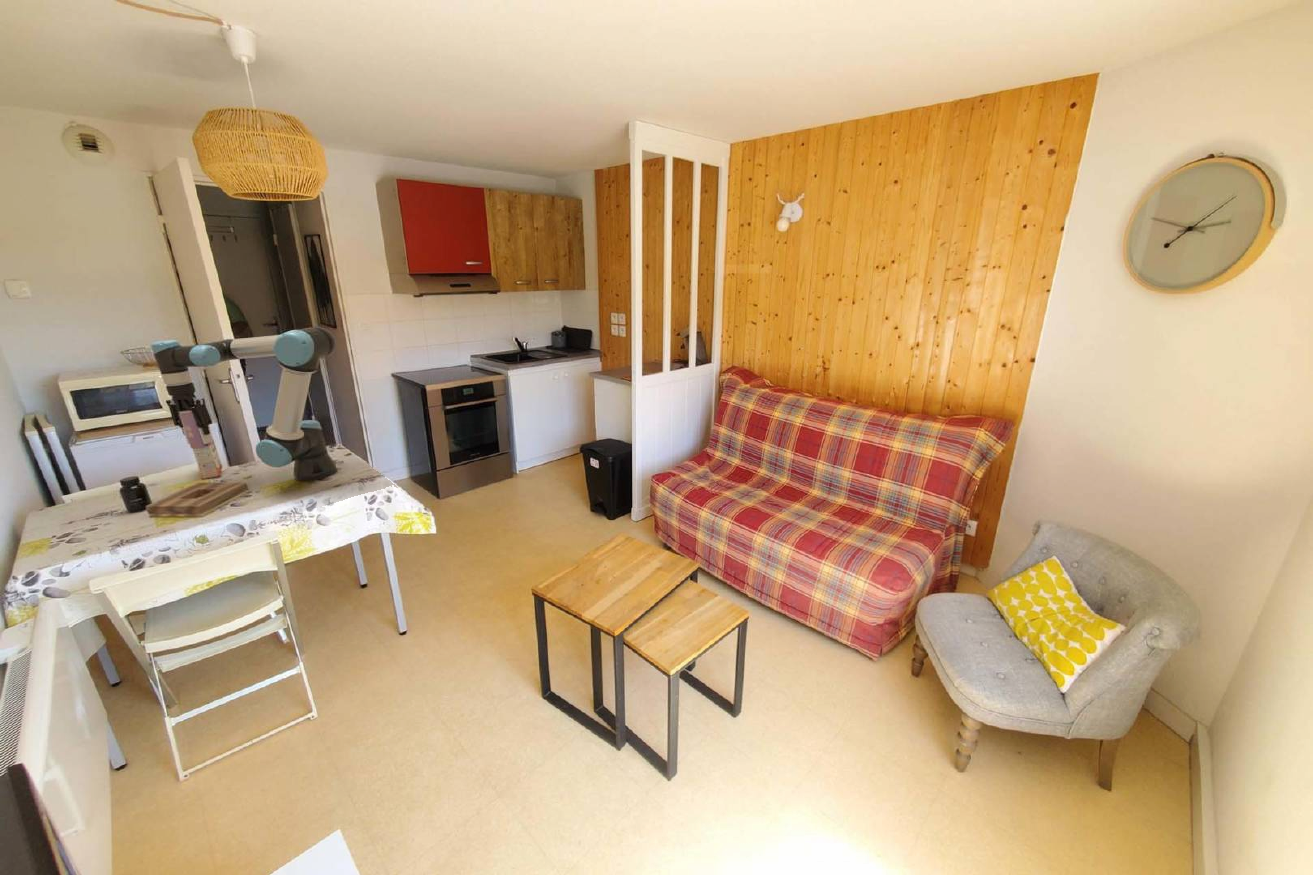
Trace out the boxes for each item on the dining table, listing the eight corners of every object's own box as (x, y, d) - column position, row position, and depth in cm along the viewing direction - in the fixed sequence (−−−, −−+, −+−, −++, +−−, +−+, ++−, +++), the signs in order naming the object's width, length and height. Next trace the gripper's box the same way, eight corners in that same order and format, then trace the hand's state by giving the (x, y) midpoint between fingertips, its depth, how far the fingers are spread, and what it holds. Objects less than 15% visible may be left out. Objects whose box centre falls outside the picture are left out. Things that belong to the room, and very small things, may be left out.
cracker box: (221, 476, 212) (204, 429, 205) (202, 479, 208) (185, 432, 201) (223, 466, 222) (208, 421, 215) (206, 469, 219) (189, 424, 212)
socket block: (249, 491, 195) (246, 482, 194) (202, 516, 176) (198, 506, 175) (201, 491, 197) (197, 482, 195) (149, 516, 178) (145, 506, 176)
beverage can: (216, 444, 194) (203, 407, 190) (201, 450, 189) (187, 412, 184) (202, 444, 195) (189, 407, 190) (187, 449, 190) (173, 411, 185)
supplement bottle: (137, 513, 180) (124, 483, 176) (122, 512, 182) (109, 482, 178) (158, 504, 187) (146, 475, 183) (144, 503, 188) (131, 474, 184)
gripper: (211, 380, 186) (231, 439, 194) (166, 381, 188) (187, 439, 196) (192, 385, 179) (213, 446, 187) (145, 386, 181) (168, 446, 189)
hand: (200, 442), depth 191 cm, fingers closed on beverage can, 6 cm apart
